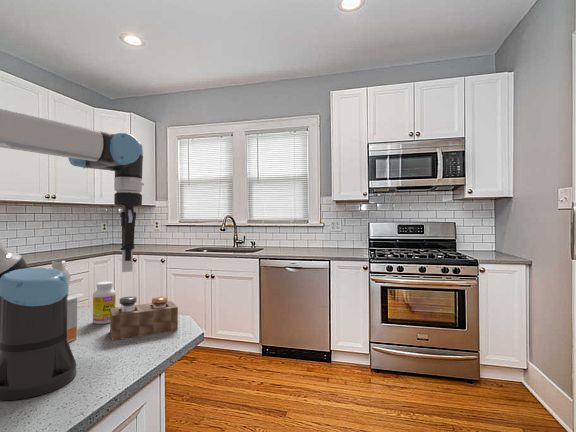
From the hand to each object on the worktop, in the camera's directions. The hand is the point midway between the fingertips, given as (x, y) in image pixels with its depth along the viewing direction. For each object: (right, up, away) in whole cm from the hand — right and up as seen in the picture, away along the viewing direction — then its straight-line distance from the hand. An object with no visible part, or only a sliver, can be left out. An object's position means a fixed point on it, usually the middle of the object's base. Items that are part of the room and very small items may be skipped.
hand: (127, 271), depth 103 cm
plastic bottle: (-28, -19, +11) cm, 35 cm away
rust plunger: (+8, -18, +5) cm, 20 cm away
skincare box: (-15, -19, -7) cm, 25 cm away
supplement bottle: (-13, -19, +11) cm, 25 cm away
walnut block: (+4, -19, +3) cm, 19 cm away
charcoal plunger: (0, -17, 0) cm, 17 cm away
